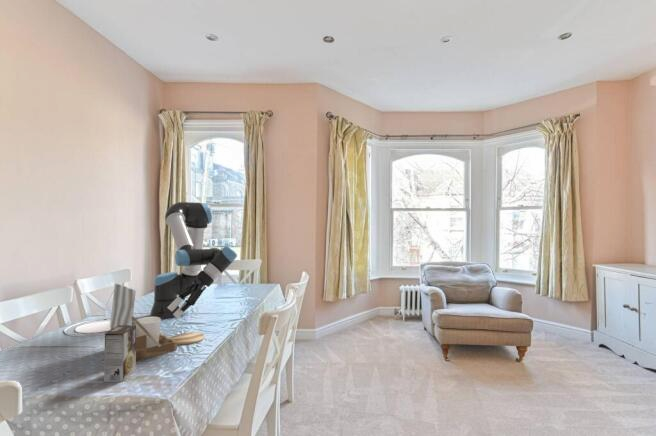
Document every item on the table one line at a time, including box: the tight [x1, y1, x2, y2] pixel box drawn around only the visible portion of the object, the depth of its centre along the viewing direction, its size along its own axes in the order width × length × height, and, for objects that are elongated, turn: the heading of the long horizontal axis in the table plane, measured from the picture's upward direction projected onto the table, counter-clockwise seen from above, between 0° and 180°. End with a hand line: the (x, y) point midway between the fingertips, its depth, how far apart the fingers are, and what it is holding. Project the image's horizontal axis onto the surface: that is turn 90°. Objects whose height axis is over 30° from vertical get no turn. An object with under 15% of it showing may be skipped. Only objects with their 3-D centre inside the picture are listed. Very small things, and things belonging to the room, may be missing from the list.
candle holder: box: [133, 316, 162, 348], centre depth 144 cm, size 10×10×12 cm
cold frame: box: [109, 282, 178, 362], centre depth 143 cm, size 22×18×27 cm
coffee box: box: [103, 325, 137, 383], centre depth 119 cm, size 9×6×16 cm
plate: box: [64, 317, 111, 337], centre depth 172 cm, size 28×28×1 cm
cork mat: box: [170, 332, 205, 346], centre depth 156 cm, size 15×15×1 cm
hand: (172, 313), depth 149 cm, fingers open, 13 cm apart
